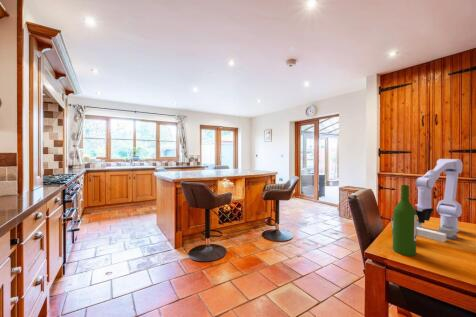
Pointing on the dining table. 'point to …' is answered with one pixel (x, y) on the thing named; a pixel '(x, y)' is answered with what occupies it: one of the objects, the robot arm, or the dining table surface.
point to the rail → (431, 234)
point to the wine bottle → (404, 225)
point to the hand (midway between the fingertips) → (424, 221)
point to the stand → (443, 230)
